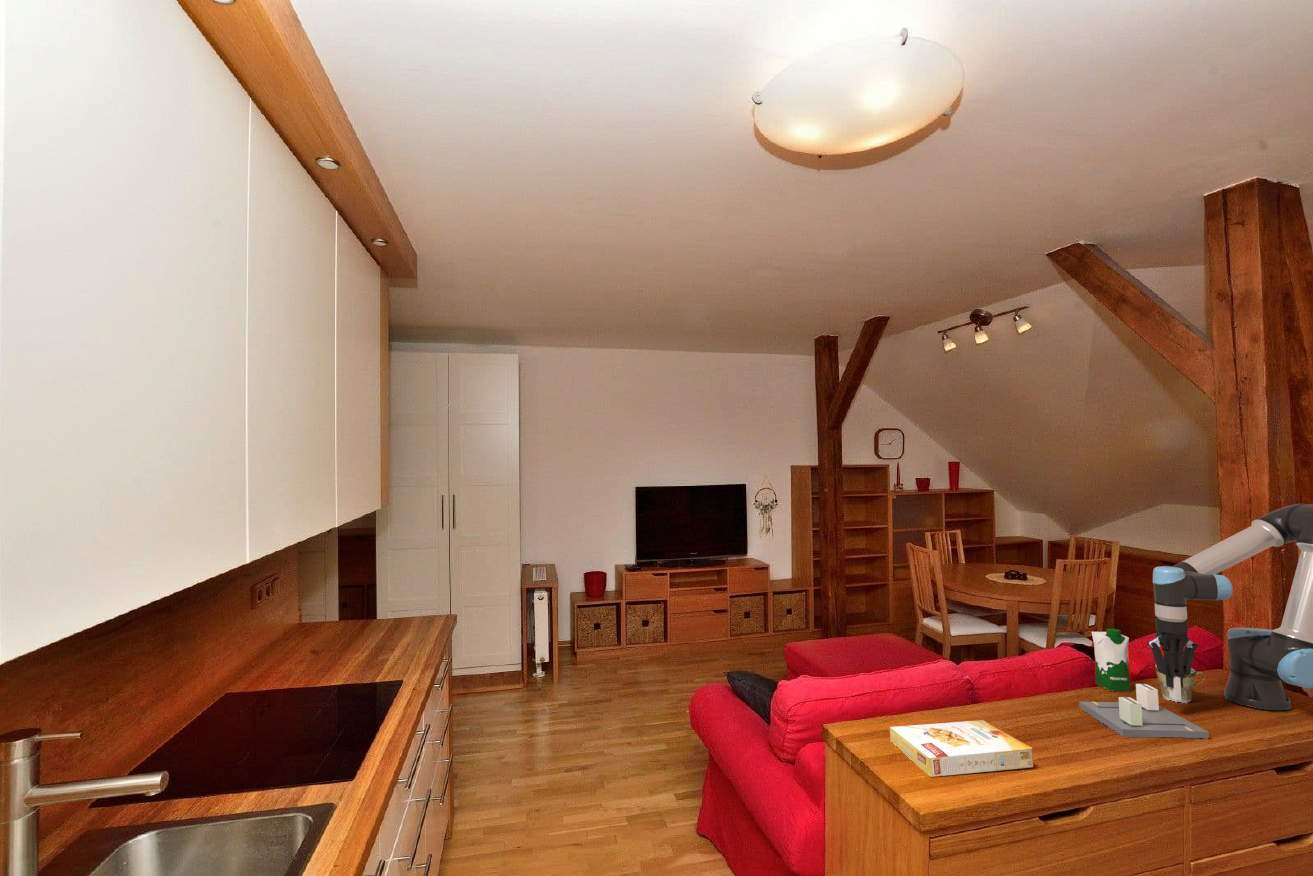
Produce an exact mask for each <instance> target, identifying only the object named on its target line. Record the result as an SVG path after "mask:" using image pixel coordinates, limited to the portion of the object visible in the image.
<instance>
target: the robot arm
mask: <svg viewBox="0 0 1313 876" xmlns="http://www.w3.org/2000/svg"><path fill="white" fill-rule="evenodd" d="M1250 525H1251V526H1249V527H1246V528H1245V529H1242V530H1241V531H1239V532H1237V533H1235V534H1233V535H1231V536H1229V537H1227V538H1226V539H1223V540H1221V541H1219V542H1217V543H1216V544H1213V545H1212V546H1210V547H1208V548H1206V549H1203V550H1202V551H1200V552H1199V553H1196V554H1194V555H1192V556H1190V557H1188V558H1187V559H1184V560H1182V561H1181V562H1178V563H1176V564H1175V565H1172V566H1170V565H1163V566H1162V565H1161V566H1156V567H1154V568H1153V571H1152V584H1153V586H1152V587H1153V599H1154V600H1153V601H1154V616H1155V619H1154V620H1155V630H1156V634H1155V638H1154V639H1153V640H1148V641H1147V645H1148V646H1149V647H1150V650H1151V652H1152V656H1153V659H1154V662H1155V665H1156V666H1157V669H1158V672H1160V673H1162V674H1164V675H1166V685H1167V686H1168V687H1169V696H1170V697H1171V698H1173V699H1175V700H1181V688H1183V678H1185V677H1186V675H1190V672H1191V668H1192V667H1193V662H1194V658H1195V652H1196V650H1197V649H1198V647H1199V645H1198V643H1195V642H1193V641H1191V640H1190V637H1188V633H1189V627H1188V626H1189V625H1188V624H1189V623H1188V621H1186V620H1187V619H1188V610H1187V600H1189V601H1190V600H1197V601H1198V600H1200V601H1203V600H1204V601H1225V600H1229V599H1230V598H1231V597H1232V595H1233V592H1234V591H1233V585H1232V582H1231V581H1230V579H1229V578H1228V577H1226V576H1225V575H1222V574H1219V573H1221V572H1223V571H1226V570H1227V569H1230V568H1231V567H1233V566H1235V565H1237V564H1239V563H1241V562H1243V561H1246V560H1247V559H1249V558H1251V557H1253V556H1255V555H1257V554H1259V553H1262V552H1264V551H1265V550H1267V549H1270V548H1272V547H1275V548H1277V547H1278V548H1279V547H1282V546H1283V545H1287V544H1289V543H1293V542H1294V543H1295V545H1296V546H1297V547H1298V548H1299V550H1300V554H1299V557H1298V563H1297V566H1296V569H1295V573H1294V576H1293V580H1292V583H1291V584H1292V585H1291V587H1290V592H1289V595H1288V599H1287V602H1286V605H1285V609H1284V614H1283V617H1282V621H1281V625H1280V626H1279V627H1278V628H1275V629H1267V628H1256V627H1232V628H1229V629H1228V630H1227V638H1226V641H1227V649H1228V659H1229V661H1228V662H1229V676H1228V678H1227V681H1226V685H1225V687H1224V689H1223V693H1224V696H1225V697H1224V698H1225V699H1226V700H1227V699H1228V700H1227V701H1229V700H1231V701H1233V702H1236V703H1238V704H1237V705H1239V704H1241V705H1240V706H1242V705H1249V706H1252V707H1256V708H1260V709H1266V710H1265V711H1267V710H1289V709H1291V710H1292V702H1291V699H1290V698H1289V695H1288V692H1287V690H1286V689H1285V686H1284V684H1283V682H1284V683H1286V684H1288V685H1292V686H1297V687H1299V688H1300V687H1301V688H1304V689H1305V688H1306V689H1313V504H1308V503H1295V504H1294V503H1293V504H1291V505H1286V506H1283V507H1280V508H1278V509H1275V510H1273V511H1271V512H1269V513H1266V514H1264V515H1261V516H1260V517H1258V518H1257V519H1254V520H1252V522H1251V523H1250ZM1160 647H1161V648H1160ZM1174 674H1175V675H1174ZM1282 681H1283V682H1282ZM1231 701H1230V702H1231ZM1233 702H1232V703H1233ZM1236 703H1235V704H1236ZM1260 709H1259V710H1260ZM1289 711H1290V710H1289Z"/></svg>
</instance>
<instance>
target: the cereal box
mask: <svg viewBox="0 0 1313 876" xmlns="http://www.w3.org/2000/svg"><path fill="white" fill-rule="evenodd" d="M889 737H890V743H891V742H893V744H894V745H895V746H897V747H898V748H899V749H900V750H901V751H902V752H903V753H904V754H905V755H906V756H907V757H908V758H909V759H908V758H907V757H906V756H905V755H904V754H903V753H902V754H903V755H904V756H905V757H906V758H907V759H908V760H910V761H911V760H912V761H913V762H914V763H915V764H914V763H913V762H912V761H911V762H912V763H913V764H914V765H915V766H916V767H917V768H919V769H920V770H921V771H922V772H923V773H925V774H926V775H928V776H929V777H930V778H934V777H944V776H956V775H964V774H965V775H966V774H974V773H976V774H977V773H984V772H988V773H989V772H997V771H998V772H999V771H1008V770H1017V769H1018V770H1019V769H1027V768H1034V755H1033V754H1034V753H1033V747H1032V746H1030V745H1028V744H1026V743H1024V742H1022V741H1021V740H1018V739H1017V738H1015V737H1014V736H1013V735H1010V734H1008V733H1007V732H1005V731H1003V730H1001V729H1000V728H998V727H996V726H994V725H992V724H991V723H989V722H987V721H985V720H983V719H981V720H979V719H978V720H966V721H952V722H951V721H950V722H942V723H941V722H940V723H939V722H938V723H927V724H926V723H925V724H915V725H914V724H913V725H912V724H910V725H901V726H889Z"/></svg>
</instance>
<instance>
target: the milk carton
mask: <svg viewBox="0 0 1313 876" xmlns="http://www.w3.org/2000/svg"><path fill="white" fill-rule="evenodd" d="M1105 630H1106V631H1091V636H1092V640H1093V645H1094V647H1093V648H1094V665H1095V685H1097V687H1100V688H1102V687H1106V688H1107V689H1108V690H1114V691H1113V692H1117V691H1131V681H1130V679H1131V678H1130V667H1129V666H1130V664H1129V642H1130V638H1129V637H1128V636H1126V635H1123V634H1122V630H1121V629H1118V628H1117V629H1116V628H1106V629H1105Z"/></svg>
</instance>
